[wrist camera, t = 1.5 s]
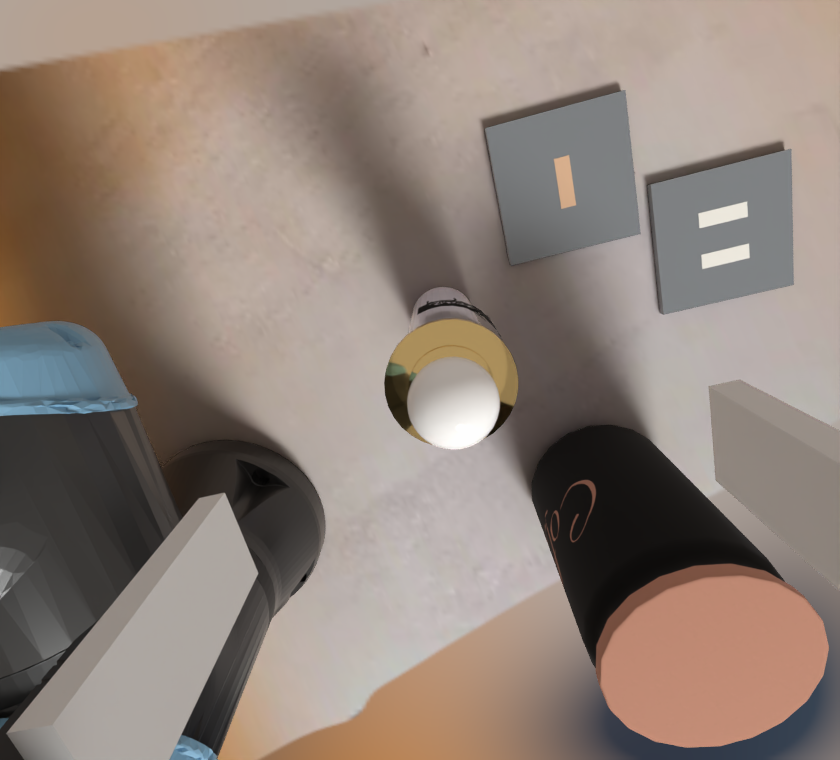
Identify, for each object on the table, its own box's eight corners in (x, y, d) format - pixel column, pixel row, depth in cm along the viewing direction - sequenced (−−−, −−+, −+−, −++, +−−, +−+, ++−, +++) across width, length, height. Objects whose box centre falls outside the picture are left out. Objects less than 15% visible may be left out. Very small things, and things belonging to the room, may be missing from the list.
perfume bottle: (469, 362, 38) (508, 507, 19) (395, 343, 37) (359, 471, 18) (491, 288, 36) (559, 365, 17) (414, 268, 36) (395, 323, 17)
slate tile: (509, 264, 35) (511, 265, 35) (484, 129, 33) (485, 128, 32) (636, 233, 35) (640, 233, 34) (621, 92, 32) (625, 89, 31)
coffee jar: (538, 413, 39) (622, 566, 22) (673, 423, 39) (864, 583, 22) (520, 529, 42) (581, 741, 25) (645, 538, 42) (791, 756, 25)
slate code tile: (660, 313, 36) (663, 314, 36) (647, 185, 34) (650, 184, 33) (787, 283, 35) (793, 284, 35) (785, 149, 33) (791, 148, 32)
